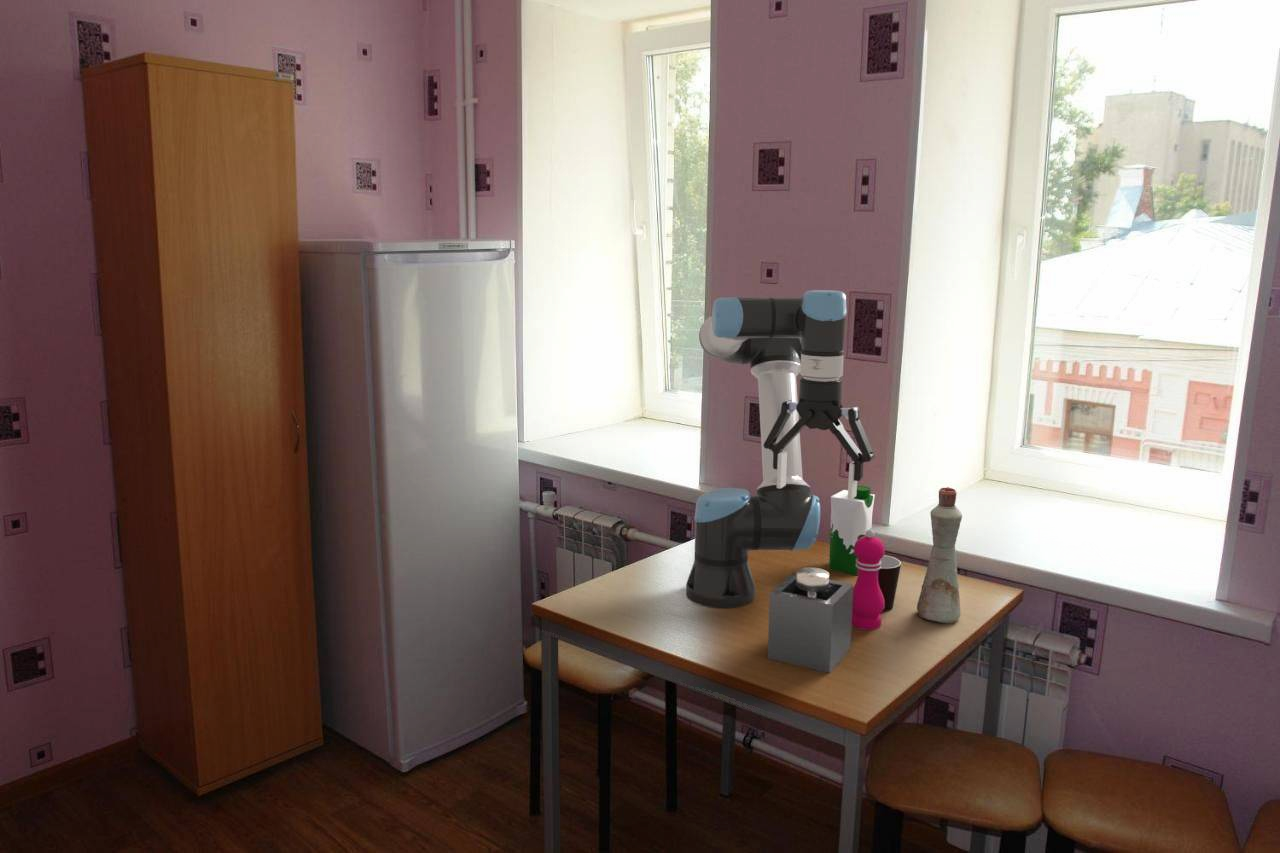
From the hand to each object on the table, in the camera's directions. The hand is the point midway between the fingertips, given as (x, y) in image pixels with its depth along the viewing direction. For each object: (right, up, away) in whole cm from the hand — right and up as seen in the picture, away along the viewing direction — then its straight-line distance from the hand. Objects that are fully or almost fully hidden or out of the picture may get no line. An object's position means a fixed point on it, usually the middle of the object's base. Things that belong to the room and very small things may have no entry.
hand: (815, 492), depth 173 cm
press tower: (0, -31, +5) cm, 31 cm away
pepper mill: (+14, -28, +19) cm, 37 cm away
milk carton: (+17, -22, +51) cm, 58 cm away
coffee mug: (+19, -26, +30) cm, 44 cm away
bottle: (+29, -28, +22) cm, 46 cm away
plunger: (0, -30, +5) cm, 30 cm away
